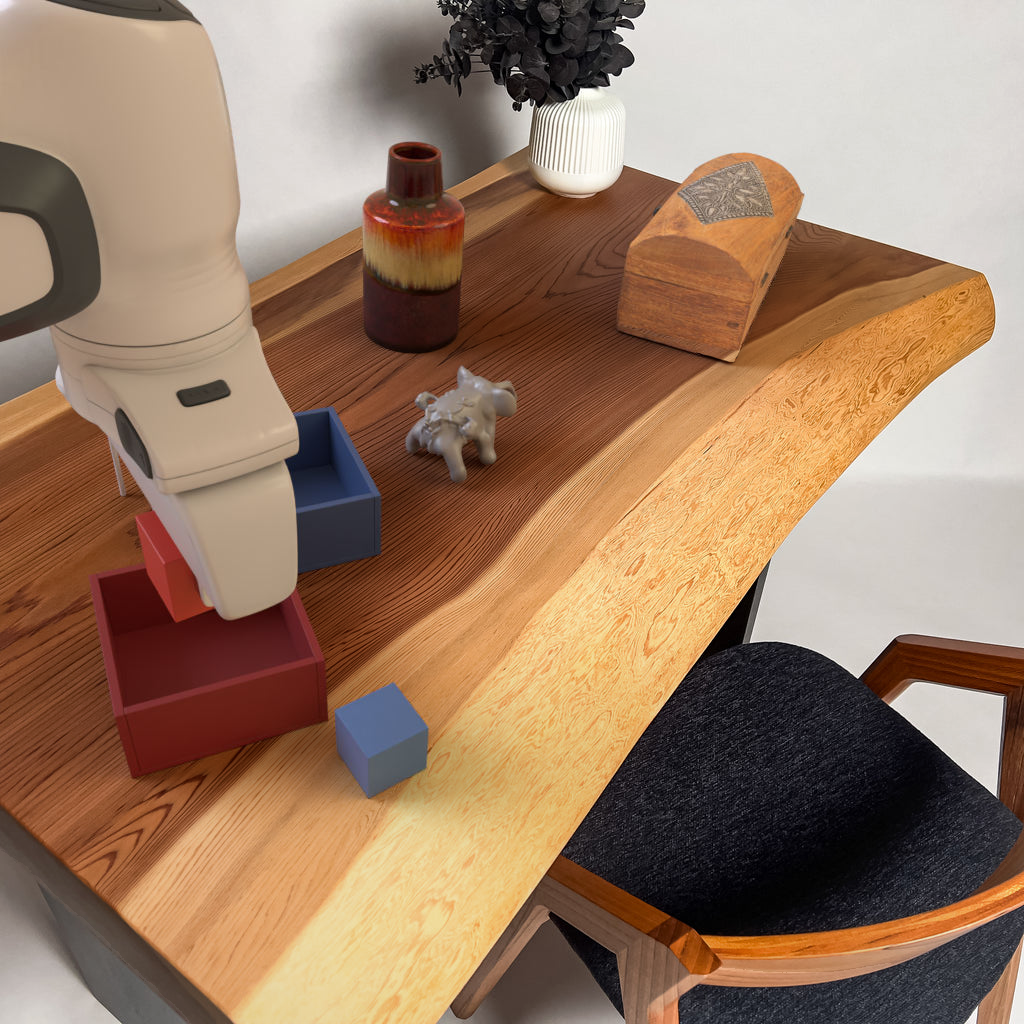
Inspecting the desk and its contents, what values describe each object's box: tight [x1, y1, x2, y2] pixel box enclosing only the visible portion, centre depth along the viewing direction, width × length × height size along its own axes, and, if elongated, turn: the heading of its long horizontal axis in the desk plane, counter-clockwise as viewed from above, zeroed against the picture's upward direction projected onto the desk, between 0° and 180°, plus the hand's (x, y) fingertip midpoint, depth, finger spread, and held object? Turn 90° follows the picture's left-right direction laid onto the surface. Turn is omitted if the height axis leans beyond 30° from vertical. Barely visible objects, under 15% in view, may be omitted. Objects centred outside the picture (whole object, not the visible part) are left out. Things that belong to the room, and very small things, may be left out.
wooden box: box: [615, 151, 805, 354], centre depth 118 cm, size 30×16×14 cm, turn 156°
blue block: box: [334, 682, 430, 799], centre depth 64 cm, size 4×4×4 cm
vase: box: [361, 141, 466, 354], centre depth 103 cm, size 11×11×20 cm
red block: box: [134, 509, 215, 622], centre depth 54 cm, size 4×4×4 cm
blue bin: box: [284, 405, 382, 575], centre depth 81 cm, size 13×13×6 cm
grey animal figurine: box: [405, 365, 518, 484], centre depth 91 cm, size 9×12×8 cm
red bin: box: [87, 562, 329, 779], centre depth 68 cm, size 13×13×6 cm
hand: (195, 564), depth 54 cm, fingers closed on red block, 4 cm apart
